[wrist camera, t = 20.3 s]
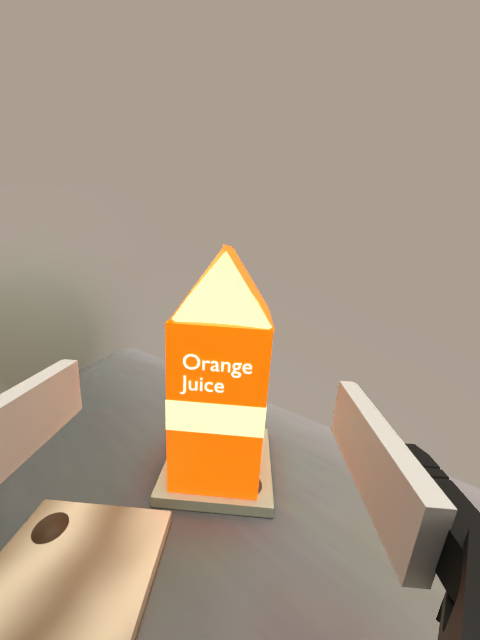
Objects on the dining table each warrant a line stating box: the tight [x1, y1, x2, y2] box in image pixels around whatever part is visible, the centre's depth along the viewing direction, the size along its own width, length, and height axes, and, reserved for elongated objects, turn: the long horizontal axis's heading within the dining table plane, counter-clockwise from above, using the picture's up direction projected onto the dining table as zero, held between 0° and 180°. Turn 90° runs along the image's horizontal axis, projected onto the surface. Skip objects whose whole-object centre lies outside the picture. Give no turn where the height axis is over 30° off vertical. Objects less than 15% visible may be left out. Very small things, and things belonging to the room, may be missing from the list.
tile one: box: [0, 500, 171, 640], centre depth 16 cm, size 10×10×1 cm
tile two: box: [151, 428, 274, 518], centre depth 26 cm, size 10×10×1 cm
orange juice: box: [165, 245, 275, 500], centre depth 23 cm, size 8×9×20 cm
